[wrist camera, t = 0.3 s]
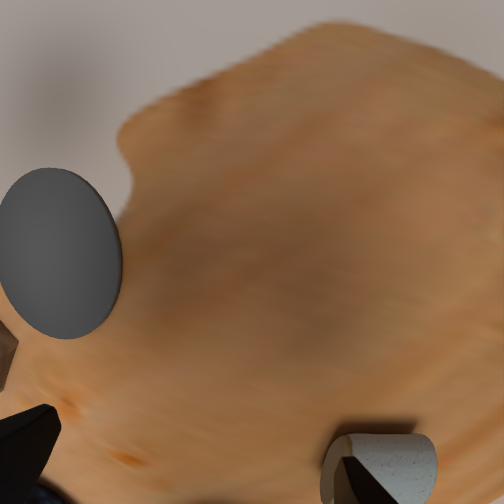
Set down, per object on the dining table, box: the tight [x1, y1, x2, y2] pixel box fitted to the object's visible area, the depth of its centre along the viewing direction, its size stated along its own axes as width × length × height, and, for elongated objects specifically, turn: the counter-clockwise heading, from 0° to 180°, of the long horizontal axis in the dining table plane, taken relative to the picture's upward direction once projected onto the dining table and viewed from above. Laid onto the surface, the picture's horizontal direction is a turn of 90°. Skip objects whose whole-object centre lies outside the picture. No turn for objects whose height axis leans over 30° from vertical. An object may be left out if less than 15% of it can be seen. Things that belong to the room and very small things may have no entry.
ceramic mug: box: [320, 433, 437, 504], centre depth 21 cm, size 11×8×8 cm
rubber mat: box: [0, 168, 122, 339], centre depth 22 cm, size 14×14×1 cm
